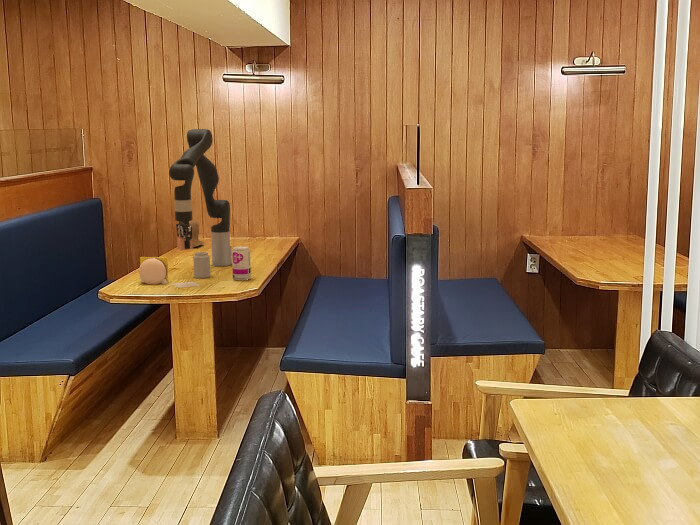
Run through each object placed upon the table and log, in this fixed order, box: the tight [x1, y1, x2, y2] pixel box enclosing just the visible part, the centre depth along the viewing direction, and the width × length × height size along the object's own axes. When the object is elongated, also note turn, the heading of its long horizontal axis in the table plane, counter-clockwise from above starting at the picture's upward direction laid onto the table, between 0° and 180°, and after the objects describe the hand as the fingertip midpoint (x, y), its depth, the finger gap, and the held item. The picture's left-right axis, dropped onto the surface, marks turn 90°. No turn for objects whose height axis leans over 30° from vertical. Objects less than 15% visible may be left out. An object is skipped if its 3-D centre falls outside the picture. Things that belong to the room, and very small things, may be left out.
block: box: [176, 236, 194, 251], centre depth 347 cm, size 5×5×5 cm
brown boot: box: [189, 220, 205, 249], centre depth 459 cm, size 15×12×15 cm
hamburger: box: [138, 256, 169, 285], centre depth 351 cm, size 12×8×12 cm
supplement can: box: [232, 245, 252, 281], centre depth 361 cm, size 8×8×15 cm
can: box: [192, 251, 211, 279], centre depth 365 cm, size 8×8×12 cm
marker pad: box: [171, 281, 201, 289], centre depth 348 cm, size 10×10×1 cm
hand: (185, 247), depth 347 cm, fingers closed on block, 5 cm apart
